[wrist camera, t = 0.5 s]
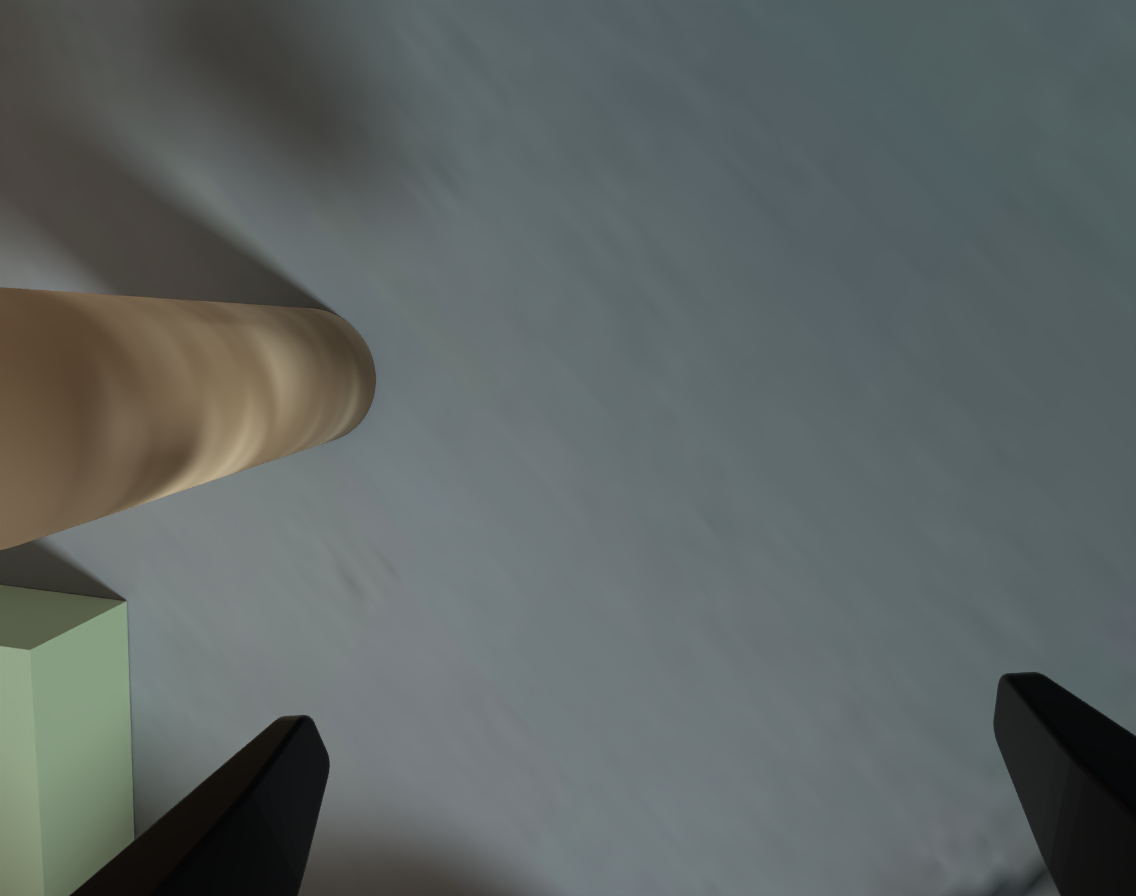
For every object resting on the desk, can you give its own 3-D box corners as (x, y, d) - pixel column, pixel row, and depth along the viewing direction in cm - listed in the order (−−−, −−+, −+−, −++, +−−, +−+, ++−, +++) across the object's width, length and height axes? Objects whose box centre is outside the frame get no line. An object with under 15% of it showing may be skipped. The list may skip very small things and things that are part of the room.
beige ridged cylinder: (373, 448, 23) (86, 566, 12) (248, 435, 24) (-149, 537, 12) (377, 313, 23) (74, 294, 11) (248, 303, 23) (-175, 274, 11)
